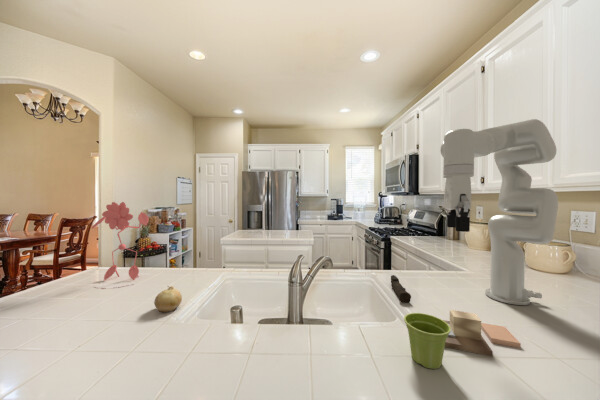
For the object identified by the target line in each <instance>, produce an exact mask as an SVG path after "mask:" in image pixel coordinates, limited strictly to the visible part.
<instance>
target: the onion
mask: <svg viewBox="0 0 600 400" xmlns="http://www.w3.org/2000/svg"><path fill="white" fill-rule="evenodd" d="M182 299H183V296H182V293H181V291H179V290H178V289H176V288H175V287H174V286H172V285H171V286H169V285H167V289H164V290H162V291H160V292H159V293H158V294H157V295H156V297H155V299H154V302H153V303H154V306H155V308H156V310H157V311H158V312H160V313H166V312H172V311H174V310H175V309H177V308H178V307H179V306H181V303H182Z"/></svg>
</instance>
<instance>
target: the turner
mask: <svg viewBox="0 0 600 400" xmlns="http://www.w3.org/2000/svg"><path fill="white" fill-rule="evenodd" d="M449 321H450V324H448V325H449V326H450V328H451V331H450V333H449V334H448V336H449V337H455V336H460V337H465V338H470V339H476V340H481V335H482V329H481V323H482V320H481V319H480V318H479V316H478V315H477V314H476V313H473V312H467V311H460V310H456V309H455V310H454V309H449Z"/></svg>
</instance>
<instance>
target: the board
mask: <svg viewBox="0 0 600 400" xmlns="http://www.w3.org/2000/svg"><path fill="white" fill-rule="evenodd" d="M442 320H443V321H445V322H446V323H447V324H450V320H445V319H442ZM444 348H449V349H454V350H460V351H464V352H469V353H474V354H479V355H483V356H489V357H493V356H494V355H493V354H494V351H493V350H492V348H491V347H490V345H489V344H488V342H487V341H486V340H485V338H484V337H483V336H482V334H481V340H476V339H470V338H465V337H460V336H455V337H449V336H448V337H447V339H446V342H445V347H444Z"/></svg>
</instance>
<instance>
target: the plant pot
mask: <svg viewBox="0 0 600 400" xmlns="http://www.w3.org/2000/svg"><path fill="white" fill-rule="evenodd" d="M443 320H444V319H441V318H440V317H437V316H434V315H432V314H431V315H430V314H428V313H424V312H423V313H421V312H411V313H407V314H405V315H404V317H403V321H404V323H405V324H406V329H407V332H408V337H409V338H408V339H409V345H410V355H411V358H412V359H413V361H414V362H415V363H416V364H420V365H421V366H423V367H424V368H427V369H431V370H433V369H435V370H436V369H439V368H440V367H441V366H442V364H443V359H444V353H445V352H444V351H445V348H446V347H445V342H446V339H447V337H448V334H449V333H450V331H451V328H450V326H449V325H448V324H447V323H446V322H445V321H446V320H445V321H443Z"/></svg>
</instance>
